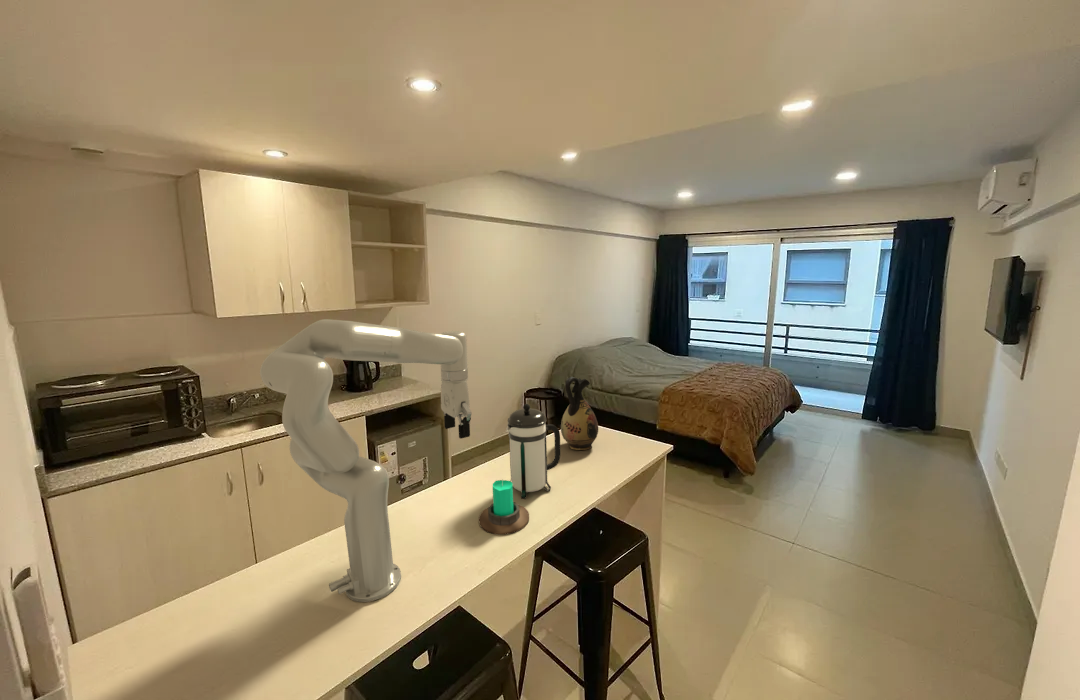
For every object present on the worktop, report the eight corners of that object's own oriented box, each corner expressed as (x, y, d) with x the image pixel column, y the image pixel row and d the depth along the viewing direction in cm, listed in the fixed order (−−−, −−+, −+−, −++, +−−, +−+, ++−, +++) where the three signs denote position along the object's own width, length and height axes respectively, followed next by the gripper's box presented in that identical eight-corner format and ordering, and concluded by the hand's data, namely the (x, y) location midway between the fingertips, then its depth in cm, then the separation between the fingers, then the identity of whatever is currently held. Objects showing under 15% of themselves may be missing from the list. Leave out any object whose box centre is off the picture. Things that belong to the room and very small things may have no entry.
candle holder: (496, 541, 120) (495, 530, 119) (469, 517, 131) (469, 507, 131) (539, 521, 129) (539, 510, 128) (510, 500, 140) (510, 490, 140)
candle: (489, 517, 129) (487, 480, 127) (504, 508, 134) (502, 472, 132) (503, 525, 126) (502, 486, 123) (518, 515, 130) (516, 478, 128)
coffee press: (546, 503, 138) (544, 413, 132) (500, 496, 143) (496, 409, 137) (561, 478, 154) (560, 397, 148) (519, 472, 159) (516, 393, 154)
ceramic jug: (579, 435, 192) (578, 369, 186) (605, 446, 180) (606, 376, 174) (550, 446, 181) (549, 377, 175) (576, 458, 169) (576, 384, 164)
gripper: (430, 371, 128) (433, 426, 131) (455, 382, 114) (458, 444, 117) (453, 368, 133) (456, 421, 136) (480, 378, 119) (482, 438, 122)
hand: (457, 432), depth 126 cm, fingers open, 9 cm apart
